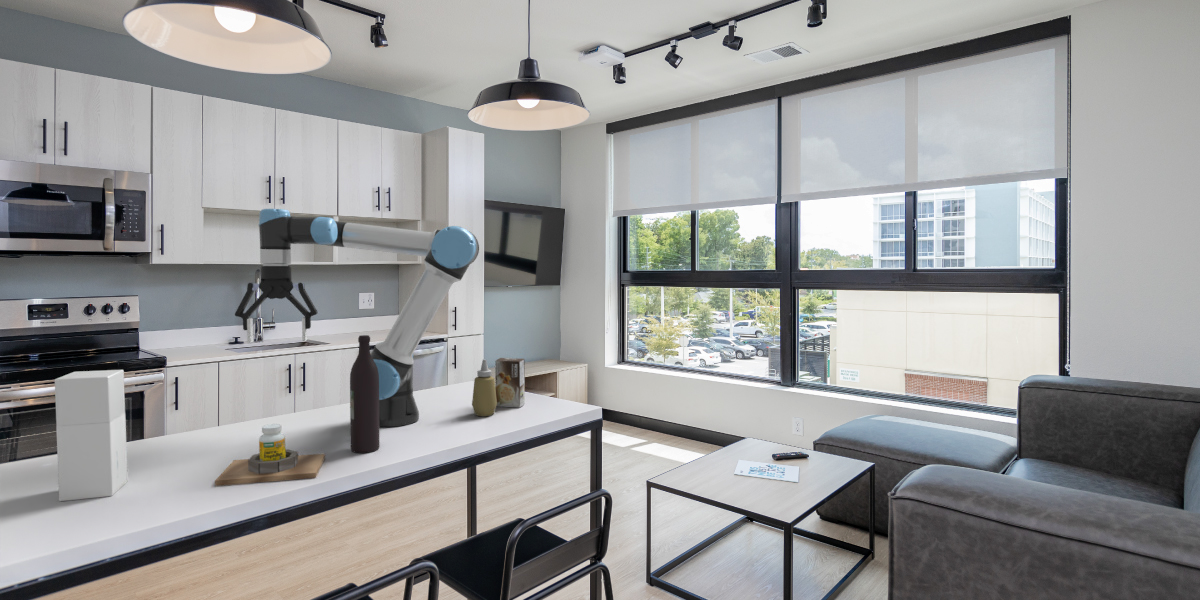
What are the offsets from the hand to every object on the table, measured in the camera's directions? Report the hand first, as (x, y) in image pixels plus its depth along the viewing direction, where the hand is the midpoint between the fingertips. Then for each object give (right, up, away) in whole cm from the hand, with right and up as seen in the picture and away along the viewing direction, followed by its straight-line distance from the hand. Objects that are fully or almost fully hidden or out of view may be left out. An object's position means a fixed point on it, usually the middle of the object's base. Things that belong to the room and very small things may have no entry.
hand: (278, 341), depth 167 cm
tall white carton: (-17, -29, -41) cm, 53 cm away
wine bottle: (+28, -28, -10) cm, 41 cm away
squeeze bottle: (+52, -26, +27) cm, 65 cm away
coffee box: (+59, -25, +41) cm, 76 cm away
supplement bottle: (+14, -27, -28) cm, 41 cm away
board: (+14, -28, -27) cm, 42 cm away
